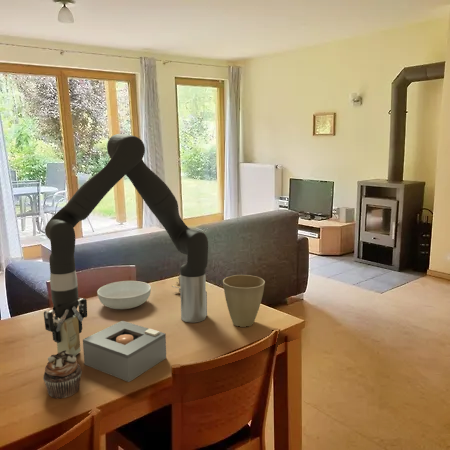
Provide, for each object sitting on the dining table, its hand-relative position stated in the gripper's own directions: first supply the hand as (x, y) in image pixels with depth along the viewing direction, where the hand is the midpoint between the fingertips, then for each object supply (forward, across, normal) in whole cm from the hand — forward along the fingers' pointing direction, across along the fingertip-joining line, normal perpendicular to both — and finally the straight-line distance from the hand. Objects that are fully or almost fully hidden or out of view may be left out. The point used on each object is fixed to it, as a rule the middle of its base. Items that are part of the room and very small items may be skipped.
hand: (68, 337), depth 136 cm
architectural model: (+7, +63, +5) cm, 64 cm away
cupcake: (+6, -13, -14) cm, 20 cm away
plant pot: (+7, +50, -33) cm, 60 cm away
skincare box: (+6, 0, 0) cm, 6 cm away
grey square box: (+6, +7, -17) cm, 19 cm away
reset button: (+3, +7, -17) cm, 19 cm away
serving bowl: (+7, +40, +16) cm, 43 cm away
